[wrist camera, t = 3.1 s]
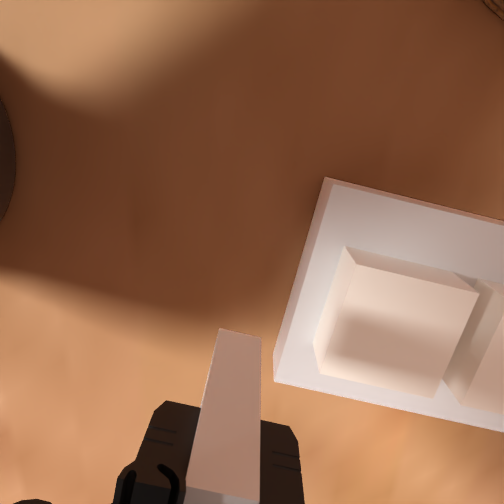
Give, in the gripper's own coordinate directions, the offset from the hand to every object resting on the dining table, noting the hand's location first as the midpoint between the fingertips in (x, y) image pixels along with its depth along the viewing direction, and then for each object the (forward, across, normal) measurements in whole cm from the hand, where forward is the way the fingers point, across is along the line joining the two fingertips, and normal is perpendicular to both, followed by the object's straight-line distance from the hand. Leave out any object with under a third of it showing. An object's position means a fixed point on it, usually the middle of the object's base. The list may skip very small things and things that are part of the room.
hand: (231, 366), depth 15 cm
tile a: (+8, +8, 0) cm, 11 cm away
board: (+12, +11, 0) cm, 16 cm away
